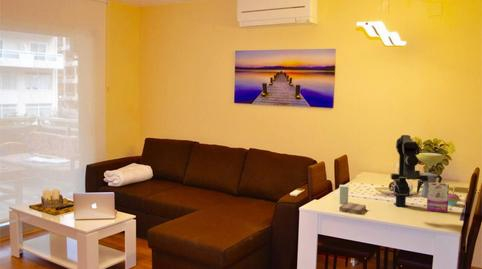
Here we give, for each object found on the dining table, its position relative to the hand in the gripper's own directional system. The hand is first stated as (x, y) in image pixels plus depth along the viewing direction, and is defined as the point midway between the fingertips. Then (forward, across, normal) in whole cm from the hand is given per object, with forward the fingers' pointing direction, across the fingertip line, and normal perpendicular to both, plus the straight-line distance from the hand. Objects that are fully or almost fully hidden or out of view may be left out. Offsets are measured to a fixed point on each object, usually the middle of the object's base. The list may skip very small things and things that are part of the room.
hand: (408, 193), depth 242 cm
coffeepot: (+10, +22, +56) cm, 61 cm away
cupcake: (+12, +31, +38) cm, 51 cm away
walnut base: (+14, -29, +11) cm, 34 cm away
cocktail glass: (+8, +26, +84) cm, 88 cm away
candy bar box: (+13, +19, +22) cm, 32 cm away
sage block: (+12, -34, +26) cm, 45 cm away
